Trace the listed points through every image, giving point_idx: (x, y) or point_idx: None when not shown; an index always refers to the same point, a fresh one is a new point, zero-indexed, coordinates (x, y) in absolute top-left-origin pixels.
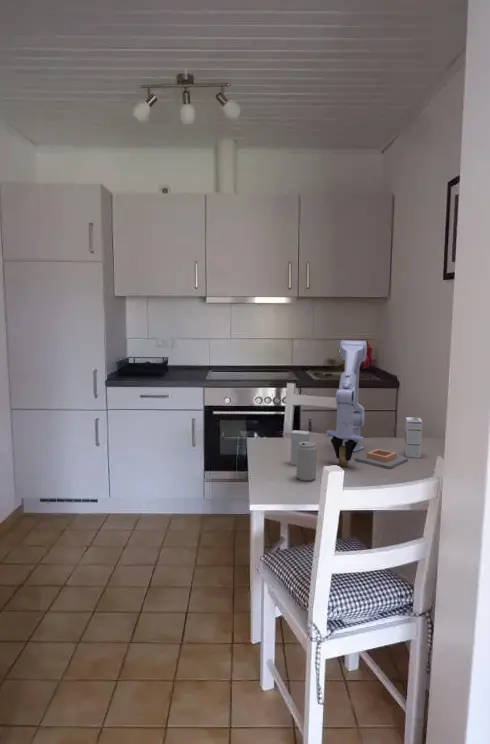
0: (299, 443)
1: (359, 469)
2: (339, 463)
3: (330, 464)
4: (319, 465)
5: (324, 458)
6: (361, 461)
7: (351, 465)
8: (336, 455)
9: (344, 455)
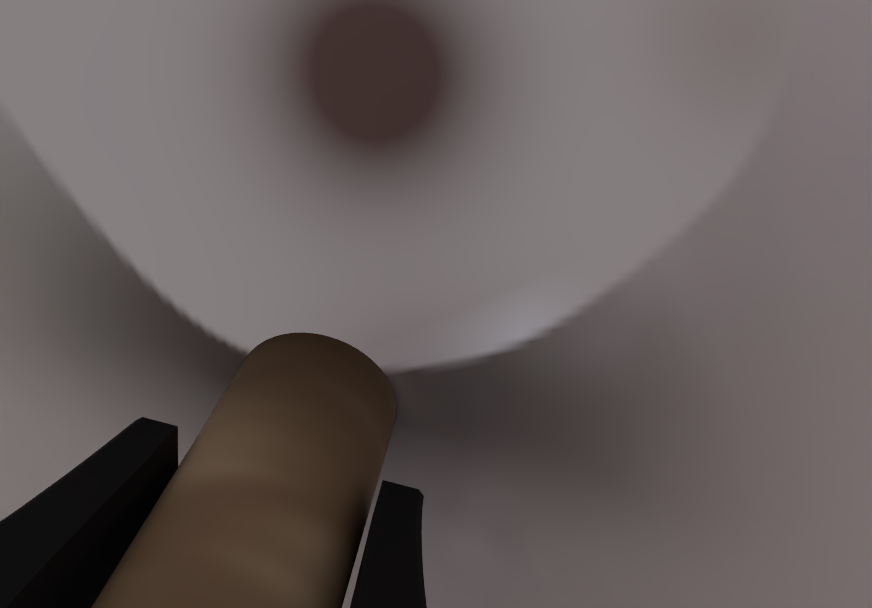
0: None
1: (2, 324)
2: (350, 383)
3: (544, 362)
4: (759, 204)
5: (739, 588)
6: None
7: None
8: (400, 529)
9: (161, 515)
